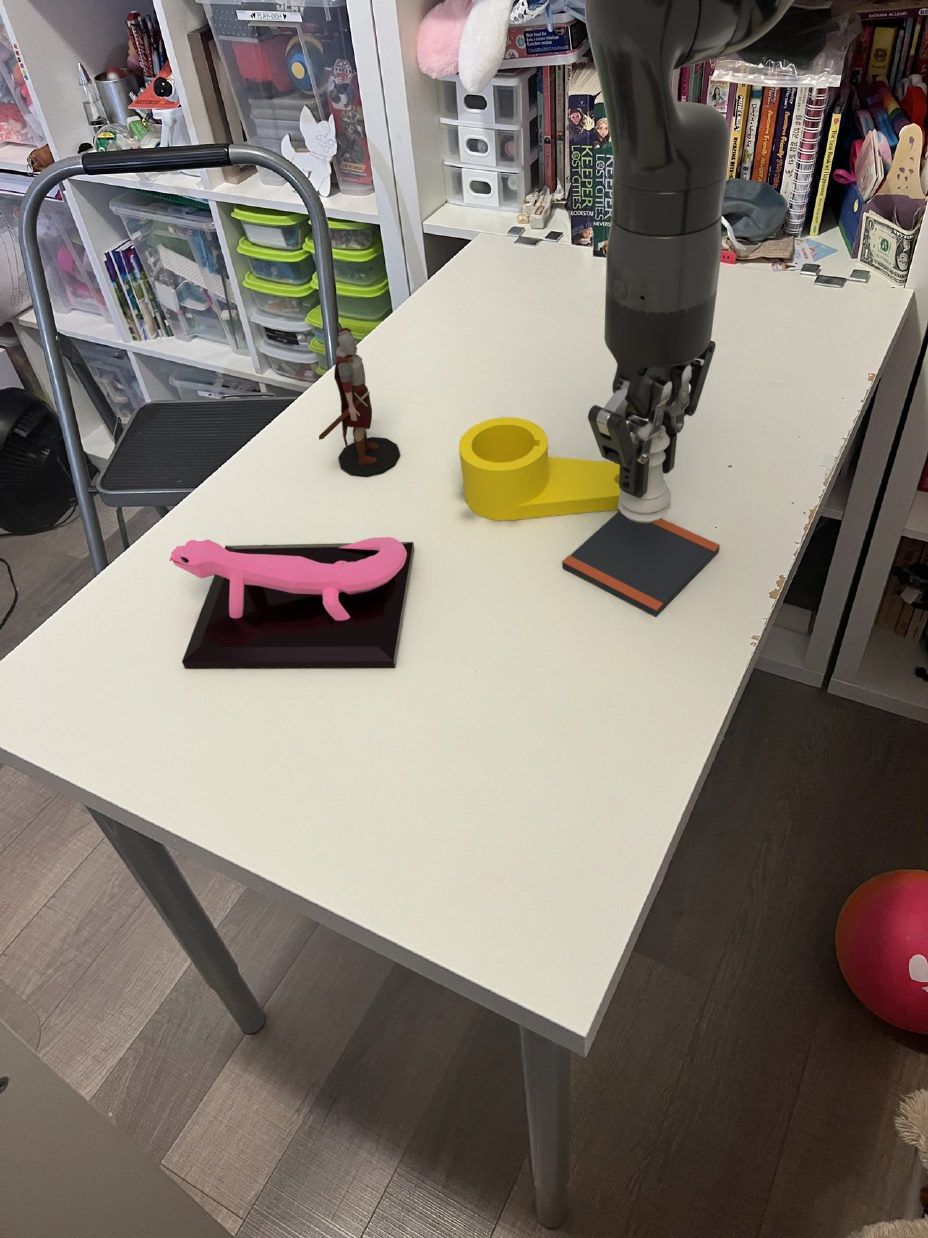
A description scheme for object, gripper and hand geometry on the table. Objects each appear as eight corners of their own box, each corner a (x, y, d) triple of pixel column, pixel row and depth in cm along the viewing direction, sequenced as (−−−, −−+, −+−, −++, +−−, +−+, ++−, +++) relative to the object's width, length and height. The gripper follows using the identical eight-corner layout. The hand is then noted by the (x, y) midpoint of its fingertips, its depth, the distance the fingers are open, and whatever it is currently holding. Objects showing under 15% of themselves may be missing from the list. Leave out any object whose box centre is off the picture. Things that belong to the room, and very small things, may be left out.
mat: (719, 552, 79) (720, 544, 79) (655, 617, 75) (656, 610, 74) (626, 509, 85) (627, 502, 84) (562, 568, 80) (562, 561, 79)
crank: (460, 520, 86) (453, 470, 81) (469, 466, 91) (464, 417, 87) (649, 521, 83) (653, 470, 79) (647, 465, 89) (650, 415, 84)
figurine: (398, 475, 91) (373, 344, 81) (329, 479, 92) (295, 350, 81) (402, 436, 96) (380, 307, 85) (336, 441, 97) (306, 313, 86)
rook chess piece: (607, 512, 75) (609, 434, 69) (637, 485, 77) (642, 407, 71) (651, 533, 73) (657, 454, 67) (681, 504, 75) (689, 426, 69)
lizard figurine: (213, 552, 86) (189, 493, 81) (416, 548, 84) (405, 487, 78) (168, 668, 76) (138, 610, 71) (397, 668, 74) (383, 607, 68)
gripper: (648, 341, 55) (635, 545, 68) (764, 252, 62) (732, 453, 74) (553, 309, 59) (557, 508, 72) (671, 228, 66) (656, 423, 78)
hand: (647, 479), depth 73 cm, fingers closed on rook chess piece, 3 cm apart
